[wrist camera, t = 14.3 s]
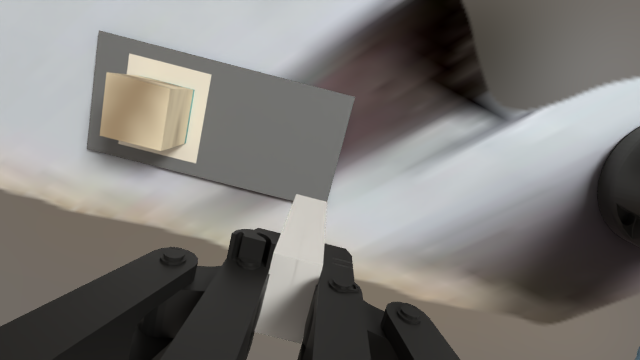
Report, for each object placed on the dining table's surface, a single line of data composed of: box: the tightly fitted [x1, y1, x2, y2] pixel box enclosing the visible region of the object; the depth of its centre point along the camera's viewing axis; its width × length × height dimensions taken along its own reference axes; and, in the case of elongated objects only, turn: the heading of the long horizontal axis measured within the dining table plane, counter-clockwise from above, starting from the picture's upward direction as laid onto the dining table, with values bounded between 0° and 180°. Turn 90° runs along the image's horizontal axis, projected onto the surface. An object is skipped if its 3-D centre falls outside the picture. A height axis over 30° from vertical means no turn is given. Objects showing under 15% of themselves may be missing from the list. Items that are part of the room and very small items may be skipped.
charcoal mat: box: [87, 31, 355, 202], centre depth 40 cm, size 28×13×1 cm, turn 76°
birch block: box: [100, 72, 195, 151], centre depth 37 cm, size 6×6×6 cm
